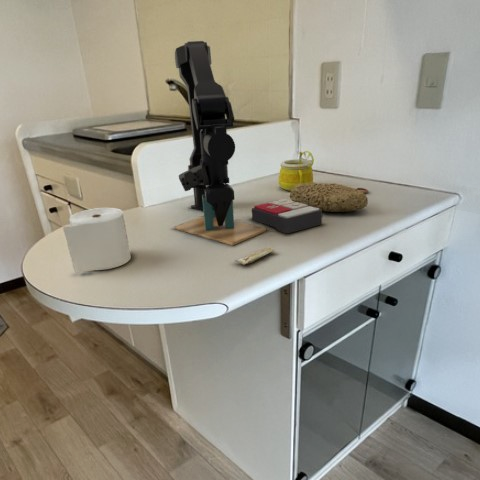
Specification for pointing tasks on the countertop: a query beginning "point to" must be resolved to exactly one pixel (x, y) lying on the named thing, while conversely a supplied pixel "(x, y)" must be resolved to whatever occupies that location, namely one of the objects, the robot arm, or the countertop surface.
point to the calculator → (287, 215)
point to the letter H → (210, 214)
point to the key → (363, 190)
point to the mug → (296, 172)
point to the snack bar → (254, 256)
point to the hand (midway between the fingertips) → (218, 221)
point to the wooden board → (221, 231)
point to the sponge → (329, 197)
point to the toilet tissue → (97, 239)
